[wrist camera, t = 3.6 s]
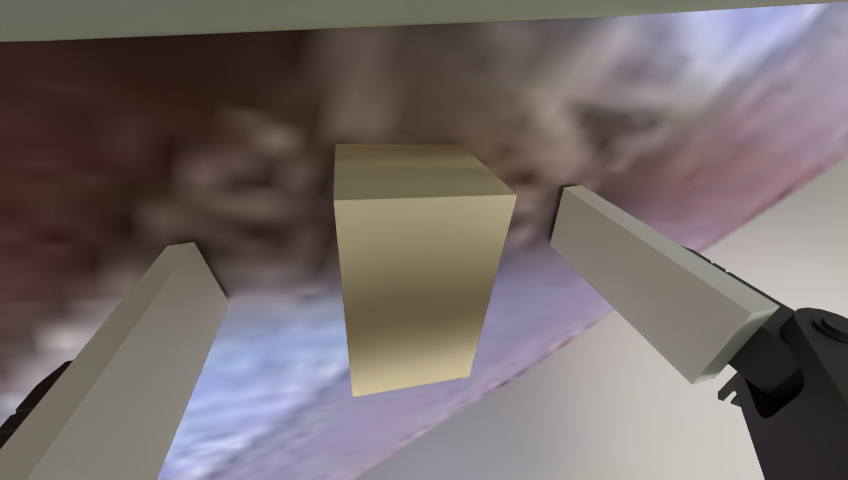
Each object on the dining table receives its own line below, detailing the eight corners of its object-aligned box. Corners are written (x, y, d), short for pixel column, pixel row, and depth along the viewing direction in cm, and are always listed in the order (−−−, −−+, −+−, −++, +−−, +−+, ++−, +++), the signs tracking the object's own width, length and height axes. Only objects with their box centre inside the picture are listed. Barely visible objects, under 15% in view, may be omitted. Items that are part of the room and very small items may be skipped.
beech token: (335, 142, 9) (333, 200, 6) (460, 143, 10) (517, 194, 7) (349, 307, 13) (352, 397, 10) (438, 296, 14) (469, 376, 11)
